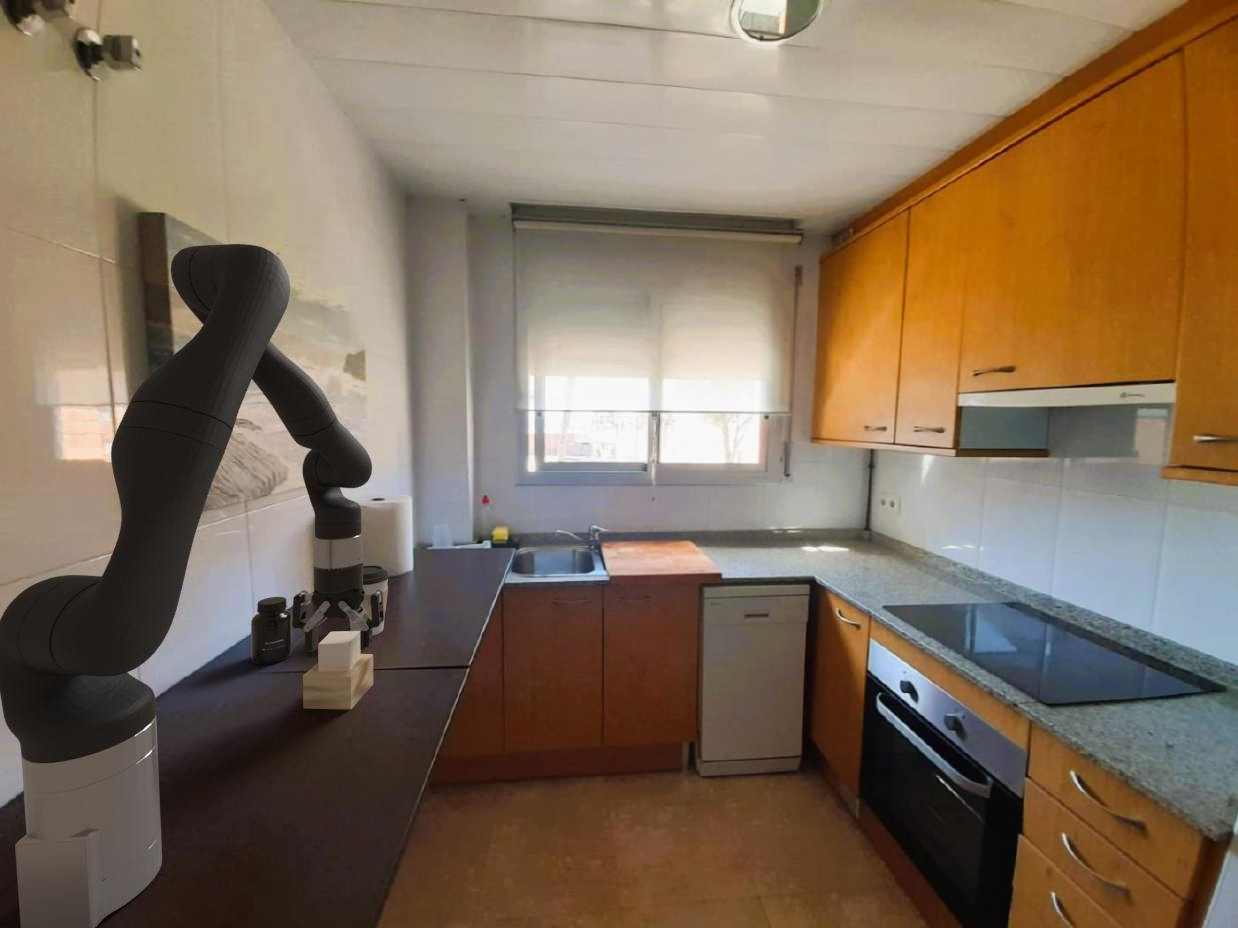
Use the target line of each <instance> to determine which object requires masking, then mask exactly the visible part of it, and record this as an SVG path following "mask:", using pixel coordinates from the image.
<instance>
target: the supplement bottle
mask: <svg viewBox="0 0 1238 928" xmlns="http://www.w3.org/2000/svg"><path fill="white" fill-rule="evenodd" d="M256 606H257V608H256V614H255V615H254V616H253V617H252V618H251V623H250V629H251V630H250V631H251V632H250V647H251V648H250V655H251V656H250V658H251V662H252V663H253V664H255V665H263V666H264V665H273V664H276V663H279V662H282V661H284V660H286V659H288V658H289V657H290V656H291V655H292V653H293V627H292V616H293V613H292V612H291V611H290V610H288V609H287V608H288V605H287V598H286V597H284V596H272V597H265V598H262V599H261V600H258V601H257V605H256Z"/></svg>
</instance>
